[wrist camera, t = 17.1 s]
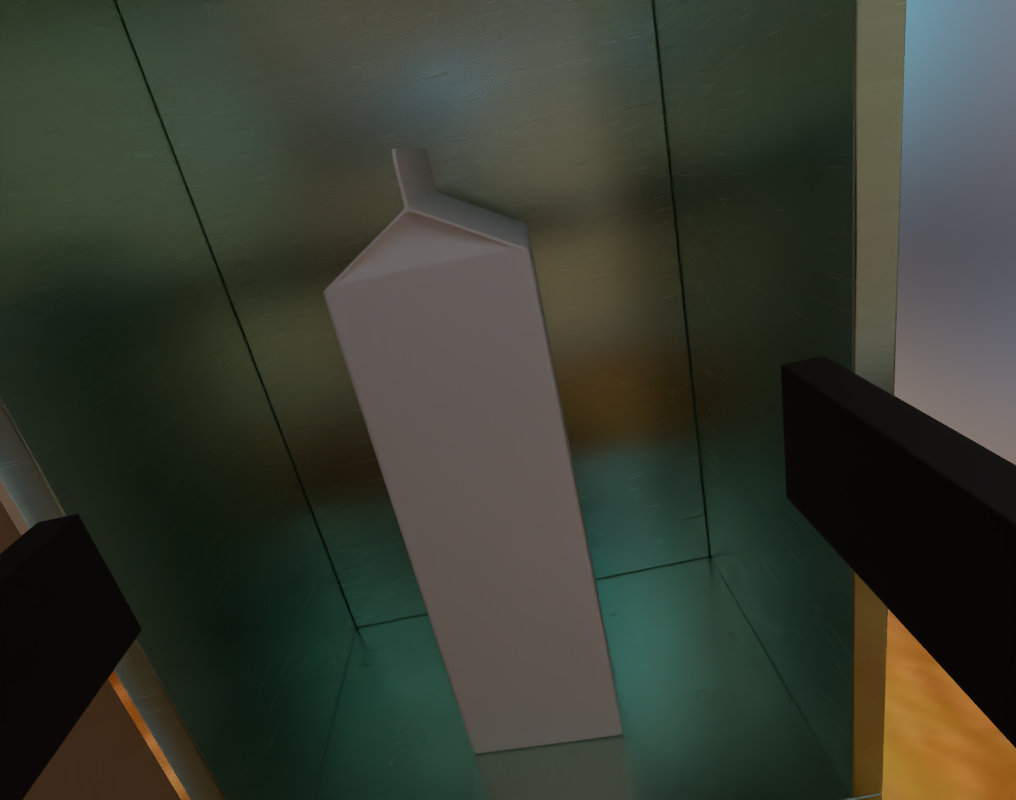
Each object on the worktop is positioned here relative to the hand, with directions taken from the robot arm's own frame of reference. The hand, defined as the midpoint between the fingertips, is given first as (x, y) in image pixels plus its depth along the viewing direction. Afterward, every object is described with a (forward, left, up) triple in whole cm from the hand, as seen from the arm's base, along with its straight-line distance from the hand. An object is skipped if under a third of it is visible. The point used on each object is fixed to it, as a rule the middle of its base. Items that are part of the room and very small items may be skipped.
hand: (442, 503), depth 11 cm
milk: (0, +10, -16) cm, 19 cm away
